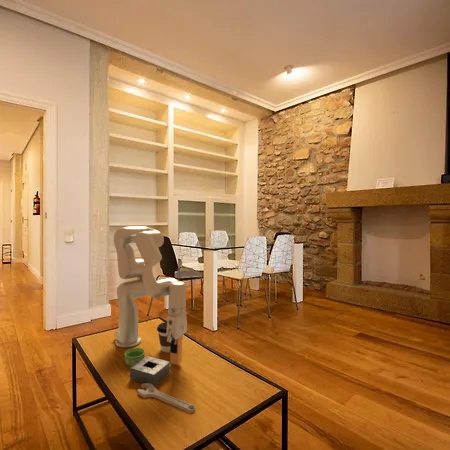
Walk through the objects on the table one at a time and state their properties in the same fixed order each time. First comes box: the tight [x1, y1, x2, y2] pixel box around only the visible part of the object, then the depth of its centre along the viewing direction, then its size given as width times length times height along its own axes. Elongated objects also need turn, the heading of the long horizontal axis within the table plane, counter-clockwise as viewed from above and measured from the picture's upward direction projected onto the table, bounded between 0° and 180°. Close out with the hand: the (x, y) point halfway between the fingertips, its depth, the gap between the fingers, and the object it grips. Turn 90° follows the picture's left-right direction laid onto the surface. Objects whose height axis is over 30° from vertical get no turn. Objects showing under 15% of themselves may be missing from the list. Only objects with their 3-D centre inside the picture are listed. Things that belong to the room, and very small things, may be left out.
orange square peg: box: [169, 336, 183, 365], centre depth 127 cm, size 3×4×12 cm
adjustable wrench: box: [137, 383, 196, 414], centre depth 103 cm, size 25×6×2 cm, turn 57°
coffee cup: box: [156, 321, 170, 353], centre depth 141 cm, size 11×11×12 cm
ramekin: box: [123, 347, 146, 367], centre depth 129 cm, size 9×9×4 cm
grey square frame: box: [129, 355, 171, 388], centre depth 117 cm, size 12×11×5 cm
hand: (175, 350), depth 127 cm, fingers closed on orange square peg, 3 cm apart
